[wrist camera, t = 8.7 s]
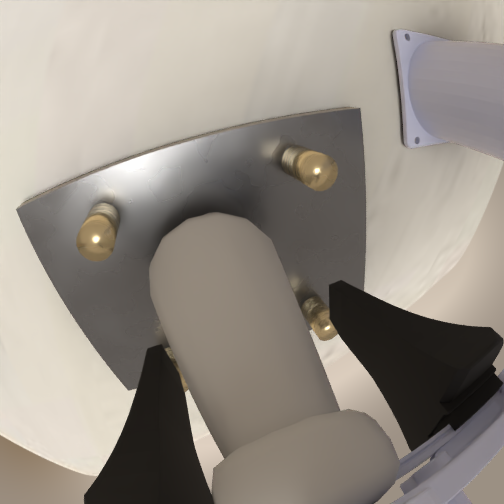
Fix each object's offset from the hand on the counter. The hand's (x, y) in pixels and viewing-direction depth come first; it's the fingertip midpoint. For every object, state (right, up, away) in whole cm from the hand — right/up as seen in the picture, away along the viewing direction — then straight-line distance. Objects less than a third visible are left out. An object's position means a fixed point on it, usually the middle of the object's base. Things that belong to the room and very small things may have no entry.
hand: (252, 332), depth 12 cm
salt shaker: (-2, +3, +3) cm, 5 cm away
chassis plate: (-2, +3, +5) cm, 6 cm away
